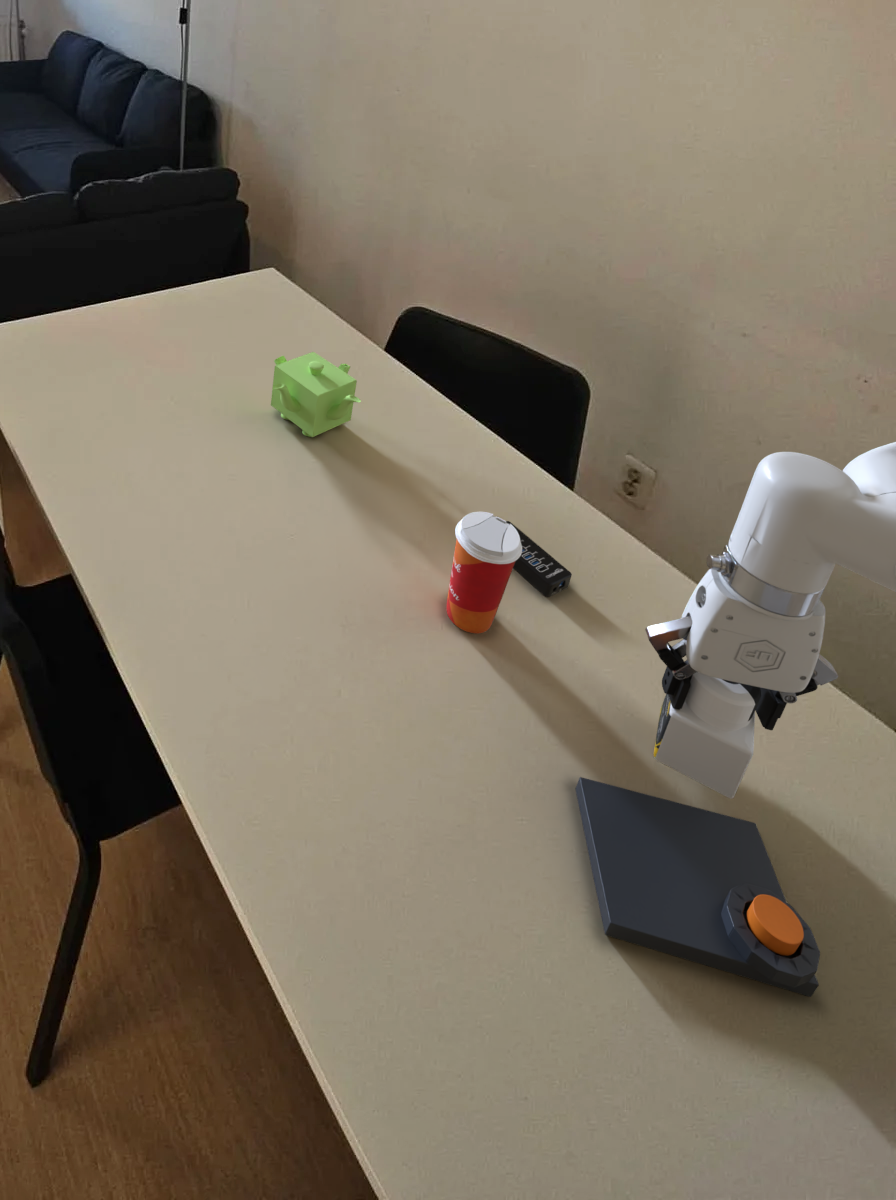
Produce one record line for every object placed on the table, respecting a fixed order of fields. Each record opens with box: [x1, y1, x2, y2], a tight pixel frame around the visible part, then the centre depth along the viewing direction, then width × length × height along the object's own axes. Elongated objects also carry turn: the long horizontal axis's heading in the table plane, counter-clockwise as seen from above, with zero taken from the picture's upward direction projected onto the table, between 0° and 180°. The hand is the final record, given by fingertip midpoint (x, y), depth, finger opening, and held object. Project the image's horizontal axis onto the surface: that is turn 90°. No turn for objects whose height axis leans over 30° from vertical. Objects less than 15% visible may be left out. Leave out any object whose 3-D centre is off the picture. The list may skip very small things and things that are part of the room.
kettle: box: [270, 351, 362, 438], centre depth 135 cm, size 15×14×11 cm
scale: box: [575, 776, 821, 998], centre depth 72 cm, size 16×14×4 cm
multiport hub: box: [505, 520, 573, 598], centre depth 108 cm, size 4×11×2 cm, turn 27°
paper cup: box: [445, 511, 522, 634], centre depth 97 cm, size 8×8×14 cm
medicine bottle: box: [652, 672, 761, 800], centre depth 81 cm, size 7×7×12 cm
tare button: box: [747, 894, 804, 956], centre depth 67 cm, size 4×4×2 cm
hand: (716, 706), depth 80 cm, fingers closed on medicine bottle, 7 cm apart
